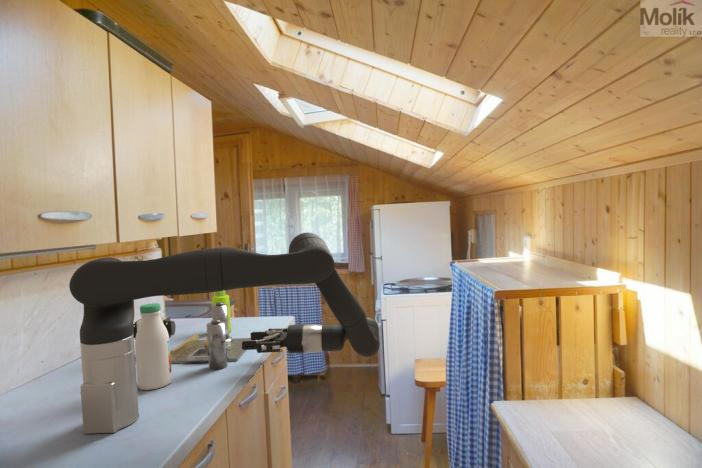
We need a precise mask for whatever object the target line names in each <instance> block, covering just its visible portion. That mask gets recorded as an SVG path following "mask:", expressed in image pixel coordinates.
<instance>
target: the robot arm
mask: <svg viewBox="0 0 702 468" xmlns="http://www.w3.org/2000/svg"><path fill="white" fill-rule="evenodd" d="M335 264H336V263H335V259H334V257H333V255H332V252H331V250H330V249H329V247H328V245H327V243H326V241H325V240H324V239H323V238H322V237H321V236H320V235H318V234H316V233H313V232H302V233H298V234H297V235H295V236H294V237H293V239H292V240H291V242H290V244H289V246H288V252H287V253H281V254H280V253H279V254H264V253H258V252H253V251H251V250H246V249H242V248H237V247H216V248H215V247H214V248H202V249H196V250H190V251H183V252H180V253H175V254H172V255H167V256H164V257H163V256H162V257H159V258H154V259H153V258H152V259H148V260H147V259H146V260H145V259H144V260H121V259H119V258H115V257H108V256H107V257H106V256H105V257H101V258H97V259H93V260H90V261H87V262H85V263H83V264H82V265H81V266H79V267H78V268H77V269H76V270H75V271H74V273H73V274H72V275H71V278H70V280H69V286H68V287H69V292H70V293H71V295H72V297H73V298H74V299H75V300H76V301H77V302H78V303H80V304H82V305H83V318H82V322H81V325H80V328H79V342H80V344H79V345H80V355H81V356H80V358H81V370H82V384H81V385H80V397H81V398H80V401H81V413H82V426H83V427H82V428H83V434H112V433H116V432H118V431H119V430H121V429H124V428H126V427H128V426H130V425H131V424H133V423H135V422H136V421H137V420H138V418H139V417H140V413H139V397H138V396H139V395H138V383H137V368H136V351H135V338H134V336H133V324H134V323H135V322H134V320H135V300H139V299H140V300H141V299H145V298H151V297H160V296H163V297H164V296H184V295H193V294H194V295H197V294H207V293H215V292H218V291H223V290H224V291H225V292H226V291H230V290H236V289H237V290H238V289H246V288H257V287H265V286H277V285H278V286H279V285H280V286H281V285H285V286H286V285H309V284H310V285H311V284H315V286H316V288H317V289H318V290H319V292H320V294H321V295H322V297H323V299H324V301H325V302H326V304H327V306H328V307H329V309H330V311H331V312H332V314H333V316H334V317H335V319H336V320H337V321H338V322H339V323H338V324H314V323H313V324H310V323H309V324H289V325H288V327H285V328H284V327H283V328H268V329H266V330H263V331H252V332H250V338H251V340H255V341H243V342H242V349H243V350H246V351H248V350H249V351H251V350H252V351H253V350H256V353H257V354H264V353H280V352H281V348H286V349H287V353H288V354H312V353H313V354H314V353H315V354H316V353H321V352H339V351H342V350H343V349H344V346H345V344H346V341H347V340H348V341H349V343H350V346H351V348H352V350H353V351H354V352H355V353H356V354H358V355H359V356H362V357H363V358H364V357H365V358H370V357H374V356H375V355H376V354H377V353H378V352H379V349H380V346H381V345H380V344H381V343H380V341H381V340H380V333H379V331H380V330H379V329H380V328H379V323H377V321H376V320H375V319H373V318H371V317H367V314H366V311H365V309H364V308H363V306H362V305H361V303H360V302H359V301H358V298H357V297H356V296H355V295H354V293H353V292H352V290H351V289H350V288H349V286H348V285H347V284H346V282H345V281H344V280H343V278H342V276H341V275H340V273H339V272H338V270H337V269H336V267H335V266H336V265H335Z"/></svg>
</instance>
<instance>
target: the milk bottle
mask: <svg viewBox="0 0 702 468" xmlns="http://www.w3.org/2000/svg"><path fill="white" fill-rule="evenodd" d="M161 309H162V306H161V304H160V303H157V302H156V303H155V302H154V303H146V304H142V305H140V307H139V312H140V313H139V314H140V316H141V318H140V319H141V323H140V326H139V329H138V331H137V334H136V339H135V338H134V352H135V366H136V381H137V388H138V389H140V390H143V391H153V390H156V389H160V388H161V389H162V388H163V387H167V386H168V385H169V384H171V382H172V380H173V376H172V375H173V373H172V364H171V355H170V351H171V344H170V342H171V341H170V338H169V335H168V331H167V329H166V327H165V325H164V324H163V322H162V320H161Z"/></svg>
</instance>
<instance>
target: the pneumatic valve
mask: <svg viewBox="0 0 702 468" xmlns="http://www.w3.org/2000/svg"><path fill="white" fill-rule="evenodd" d="M160 317H161V316H160ZM161 320H162V322H163V324H164V325H165V327H166V329H167V331H168V335H169V339H170V338H172V337H173V336H174V335H175V333H176V322H175V321H174V320H172V319H171V316H163V317H161ZM140 323H141V318H140V319H138V320H136V321H135V322H134V323H133V336H134V340H135V339H136V334H137V331H138V329H139V326H140Z"/></svg>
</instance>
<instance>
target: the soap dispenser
mask: <svg viewBox="0 0 702 468" xmlns="http://www.w3.org/2000/svg"><path fill="white" fill-rule="evenodd" d="M214 293H215V295H214V296H212V297H211V301H212V302H211V303H212V305H211V306H213V305H216V304H215V303H218V302H223V304H227V309H228V327H229V334H230V333H231V332H232V323H231V321H232V319H231V305H230V295H229V294H226V291H224V290H223V291H218V292H214Z"/></svg>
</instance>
